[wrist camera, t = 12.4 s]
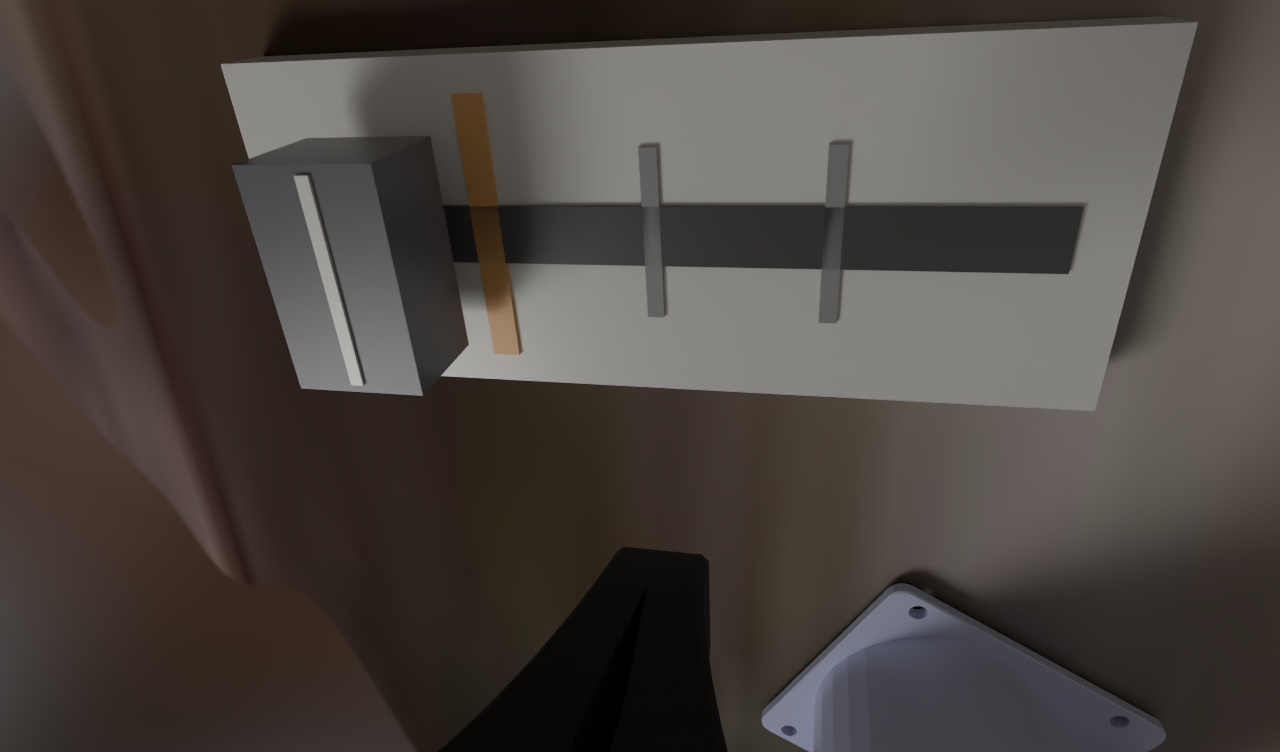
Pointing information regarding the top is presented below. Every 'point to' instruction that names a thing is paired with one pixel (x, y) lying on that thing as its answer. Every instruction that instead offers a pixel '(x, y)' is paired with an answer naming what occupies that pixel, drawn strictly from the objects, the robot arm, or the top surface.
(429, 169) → the fader knob
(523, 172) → the fader board
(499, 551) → the top surface
